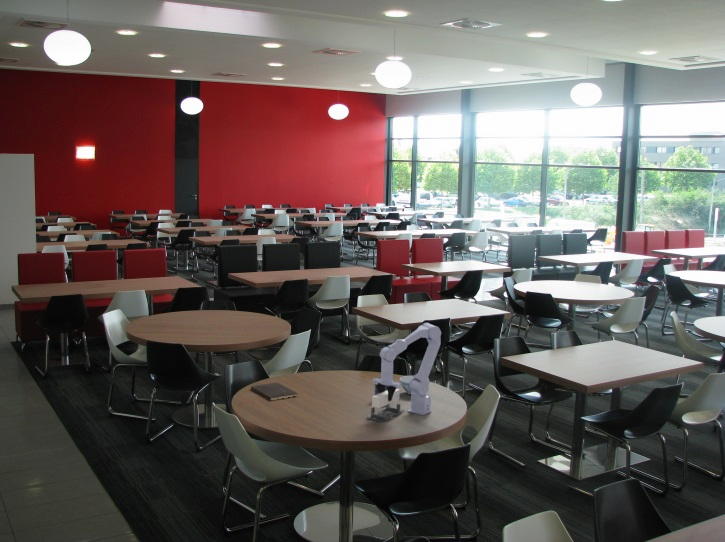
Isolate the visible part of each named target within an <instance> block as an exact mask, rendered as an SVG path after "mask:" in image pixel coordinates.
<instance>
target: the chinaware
mask: <svg viewBox="0 0 725 542" xmlns="http://www.w3.org/2000/svg"><path fill="white" fill-rule="evenodd" d="M413 377H414V375H404V376H400V378H399V382H400V383H399V384H400V387H402V389H403V390H404V391H405V392H406V394H407V393H408V394H407V395H409V394H411V389H410V388H409V383H410V381H411V380H412V379H413Z"/></svg>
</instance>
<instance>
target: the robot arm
mask: <svg viewBox="0 0 725 542" xmlns="http://www.w3.org/2000/svg"><path fill="white" fill-rule="evenodd" d="M441 335H442V331H441V329H440V327H439V326H436V325H433V324H431V323H429V322H424V323H422V324H421V325H419V326H418V328H417V329H415V330H414V331H412V332H411V333H410V334H409V335H407V336H406V337H405V338H404V339H402V338H398V339H396V340H395V342H392V344H389V345H388V346H385V347H383V348H381V350H380V352H379V357H380V358H381V359H380V360H381V363H380V365H381V366H380V367H381V368H380V370H381V371H380V378H377V377H376V378H373V379H372V383H373V384H375V383H378V384H377V385H376V387H377V389H378V391H379V393H382V392H384V391H385V386H386V385H387V386H390V387H388V388H387V390H388V401H392V397H393V394H394V392H395V390H396V389H400V388H401V383H399V382H396V381H393V379H394V378H393V377H394V360H395V359H396V357H397V356H398V355H399V354H401V353H403V352H404V351H405V350H407V348H408V346H409V345H410V344H412V343H414V342H415V341H417V340H419V339H421V338H423V339H424V338H425V339H426V341H427V342H428V346H427V347H426V351H425V353H424V356H423V358H422V362H421V363H420V367H419V369H418V372H417V373H416V374H414V375H413V376H414V377H413V379H412V380H411V381H410V383H409V388H410V389H411V395H410V408H409V409H407V410H406V411H407V412H408V413H413V414H416V415H421V416H425V415H427V414H428V413H431V412H432V410H431V409H432V407H431V405H432V399H431V396H429V395H427V394H428V392H429V390H430V387H429V385H430V378H429V376H430V373H431V371H432V368H433V365H434V363H435V360H436V358H437V355H438V353H439V350H440V347H441V340H442V339H441Z"/></svg>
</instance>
